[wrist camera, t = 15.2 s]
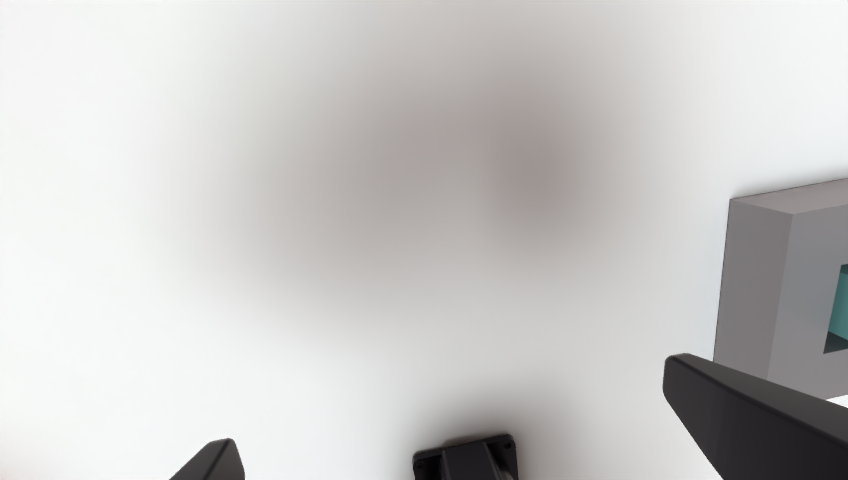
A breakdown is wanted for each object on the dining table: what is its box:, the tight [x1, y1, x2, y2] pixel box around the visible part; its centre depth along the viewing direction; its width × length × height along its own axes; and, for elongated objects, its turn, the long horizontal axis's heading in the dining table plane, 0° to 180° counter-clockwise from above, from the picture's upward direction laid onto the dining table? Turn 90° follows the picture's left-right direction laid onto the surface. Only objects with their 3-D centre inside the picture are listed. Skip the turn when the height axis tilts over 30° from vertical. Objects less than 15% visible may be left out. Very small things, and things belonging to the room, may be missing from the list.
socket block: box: [713, 178, 848, 400], centre depth 23 cm, size 12×12×4 cm
